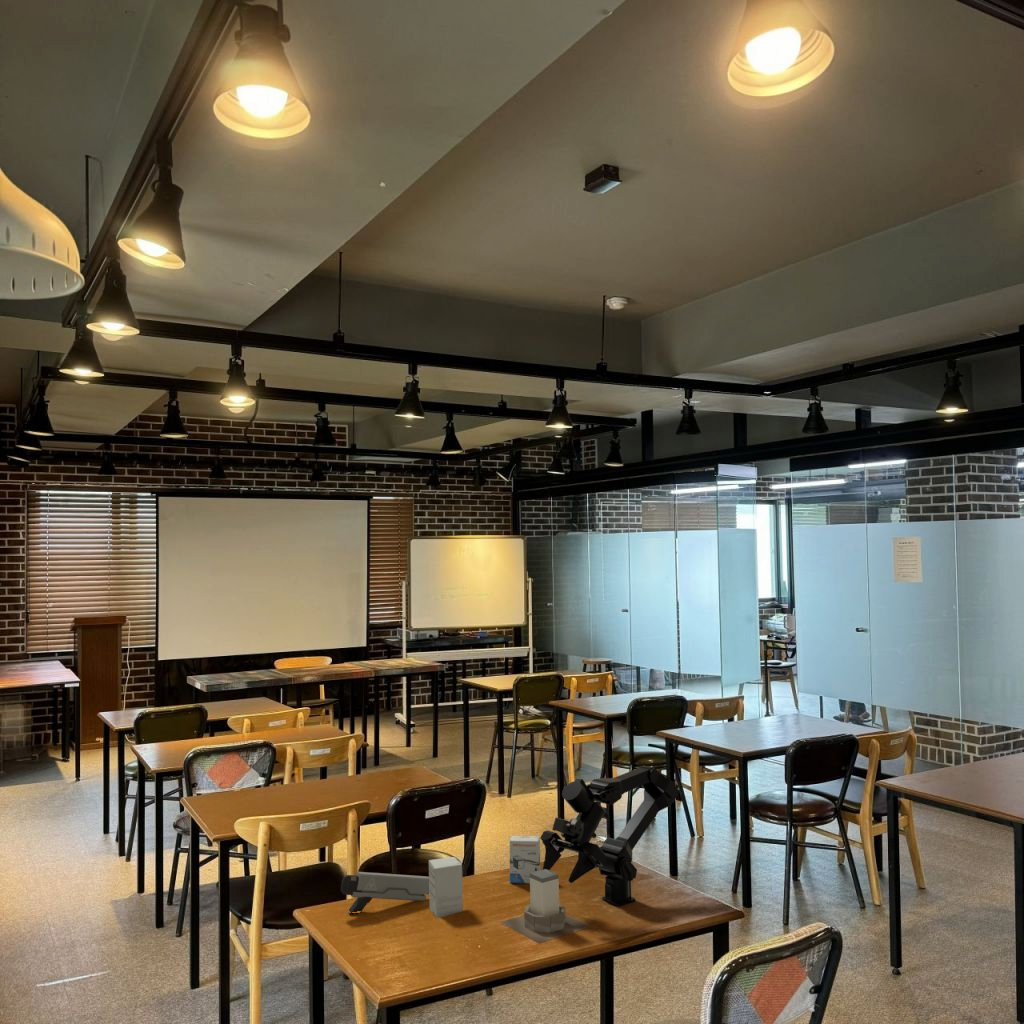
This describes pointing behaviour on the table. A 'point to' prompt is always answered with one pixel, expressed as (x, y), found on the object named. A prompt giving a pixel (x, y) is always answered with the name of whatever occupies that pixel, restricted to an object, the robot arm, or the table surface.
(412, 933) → the table surface
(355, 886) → the gun
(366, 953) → the table surface
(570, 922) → the ring stand
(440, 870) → the supplement box
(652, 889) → the table surface
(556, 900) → the link block
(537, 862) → the ink box
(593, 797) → the robot arm
